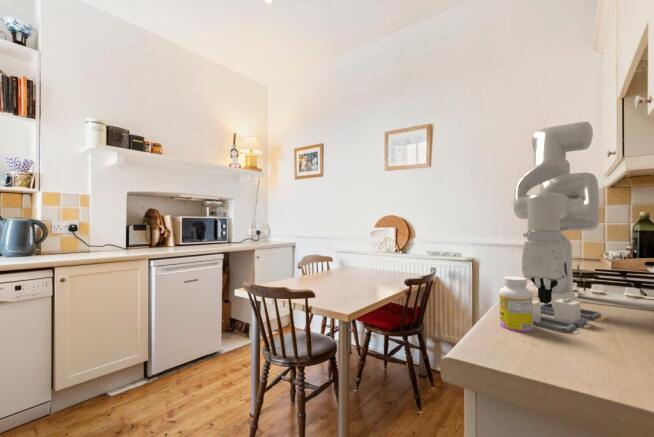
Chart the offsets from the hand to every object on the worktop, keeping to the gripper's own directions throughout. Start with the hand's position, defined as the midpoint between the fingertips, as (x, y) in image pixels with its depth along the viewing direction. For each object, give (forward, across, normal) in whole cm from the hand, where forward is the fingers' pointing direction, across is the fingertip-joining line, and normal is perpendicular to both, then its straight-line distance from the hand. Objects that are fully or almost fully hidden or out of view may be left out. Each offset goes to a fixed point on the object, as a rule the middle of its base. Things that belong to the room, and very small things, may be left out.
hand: (545, 302), depth 89 cm
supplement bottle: (+3, +3, -22) cm, 22 cm away
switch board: (+3, +6, -7) cm, 9 cm away
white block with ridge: (+2, +9, -9) cm, 12 cm away
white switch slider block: (+2, +4, 0) cm, 5 cm away
